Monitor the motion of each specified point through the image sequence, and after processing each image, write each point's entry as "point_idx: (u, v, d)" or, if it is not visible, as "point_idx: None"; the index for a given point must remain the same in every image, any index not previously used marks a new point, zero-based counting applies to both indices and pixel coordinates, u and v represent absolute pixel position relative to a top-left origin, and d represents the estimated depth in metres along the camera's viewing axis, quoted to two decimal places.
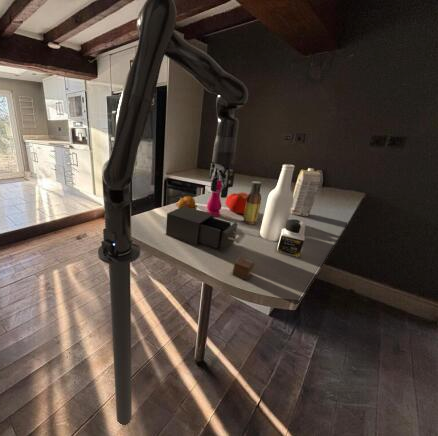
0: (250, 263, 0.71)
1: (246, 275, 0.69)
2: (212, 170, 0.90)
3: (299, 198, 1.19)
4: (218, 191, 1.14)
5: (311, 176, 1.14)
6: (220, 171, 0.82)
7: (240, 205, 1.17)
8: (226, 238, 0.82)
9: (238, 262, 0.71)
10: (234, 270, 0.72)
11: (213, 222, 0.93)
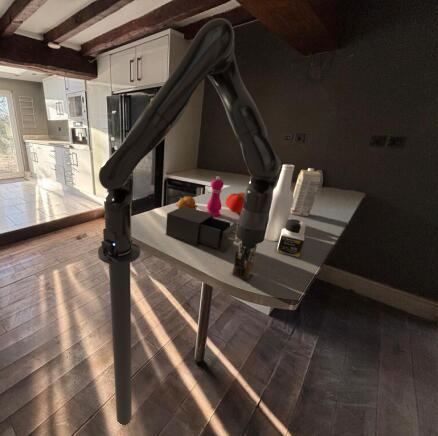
0: (250, 263, 0.71)
1: (246, 275, 0.69)
2: None
3: (299, 198, 1.19)
4: (218, 191, 1.14)
5: (311, 176, 1.14)
6: None
7: (240, 205, 1.17)
8: (226, 238, 0.82)
9: None
10: (234, 270, 0.72)
11: (213, 222, 0.93)
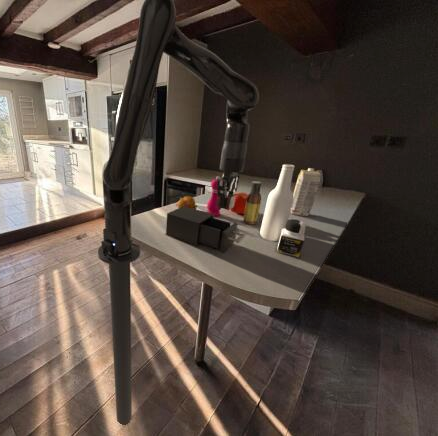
0: (232, 195, 0.79)
1: (228, 205, 0.78)
2: None
3: (299, 198, 1.19)
4: None
5: (311, 176, 1.14)
6: None
7: (240, 205, 1.17)
8: (226, 238, 0.82)
9: None
10: (218, 202, 0.80)
11: (213, 222, 0.93)
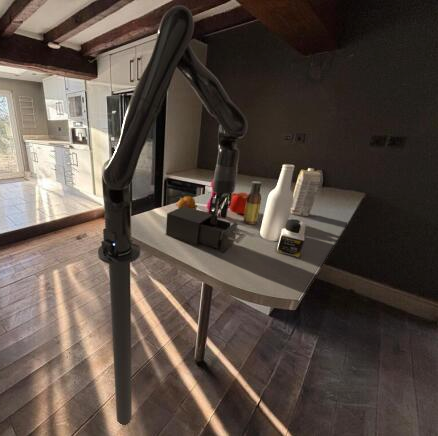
0: (222, 229, 0.88)
1: None
2: None
3: (299, 198, 1.19)
4: None
5: (311, 176, 1.14)
6: None
7: (240, 205, 1.17)
8: (226, 238, 0.82)
9: None
10: None
11: None
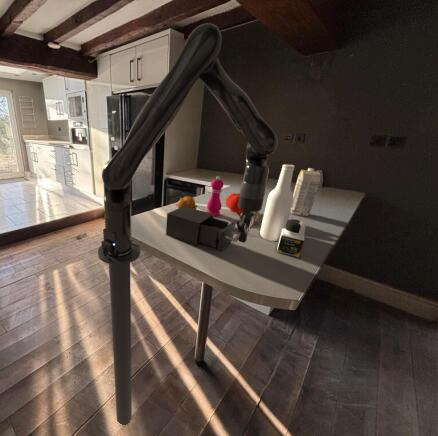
0: (219, 229, 0.89)
1: None
2: None
3: (299, 198, 1.19)
4: (218, 191, 1.14)
5: (311, 176, 1.14)
6: (241, 217, 0.79)
7: None
8: (224, 237, 0.83)
9: None
10: None
11: (211, 221, 0.94)
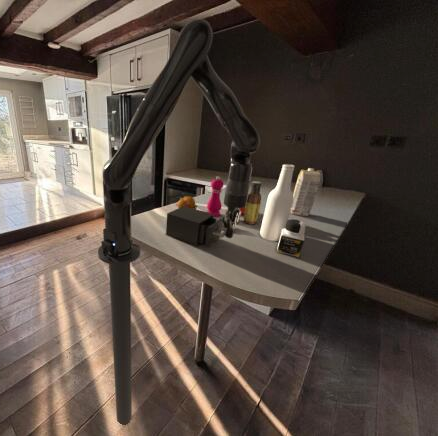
0: (207, 225, 0.91)
1: None
2: None
3: (299, 198, 1.19)
4: (218, 191, 1.14)
5: (311, 176, 1.14)
6: None
7: None
8: (211, 233, 0.86)
9: None
10: None
11: None
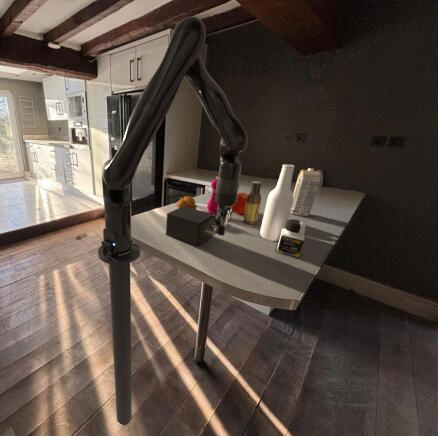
0: None
1: None
2: None
3: (299, 198, 1.19)
4: None
5: (311, 176, 1.14)
6: (218, 211, 0.84)
7: (240, 205, 1.17)
8: (203, 231, 0.87)
9: None
10: None
11: None
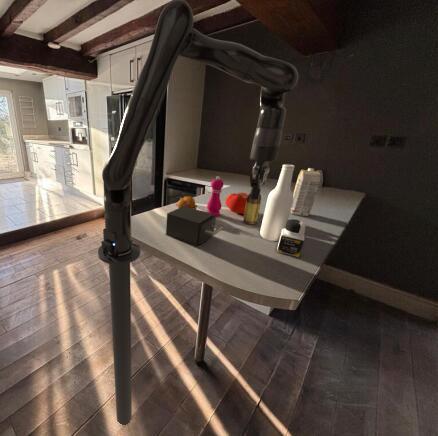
0: None
1: None
2: None
3: (299, 198, 1.19)
4: (218, 191, 1.14)
5: (311, 176, 1.14)
6: (254, 170, 0.72)
7: (240, 205, 1.17)
8: (203, 231, 0.87)
9: None
10: None
11: None
